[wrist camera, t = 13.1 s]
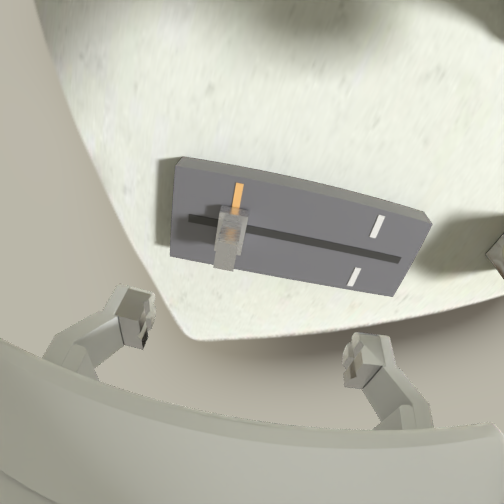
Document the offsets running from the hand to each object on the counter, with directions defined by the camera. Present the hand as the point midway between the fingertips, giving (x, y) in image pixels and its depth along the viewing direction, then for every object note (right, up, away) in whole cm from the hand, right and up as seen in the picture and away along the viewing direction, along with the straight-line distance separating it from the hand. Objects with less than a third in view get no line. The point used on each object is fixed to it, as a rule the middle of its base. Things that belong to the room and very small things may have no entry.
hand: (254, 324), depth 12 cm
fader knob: (-2, +6, +23) cm, 24 cm away
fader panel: (+6, +6, +26) cm, 27 cm away
